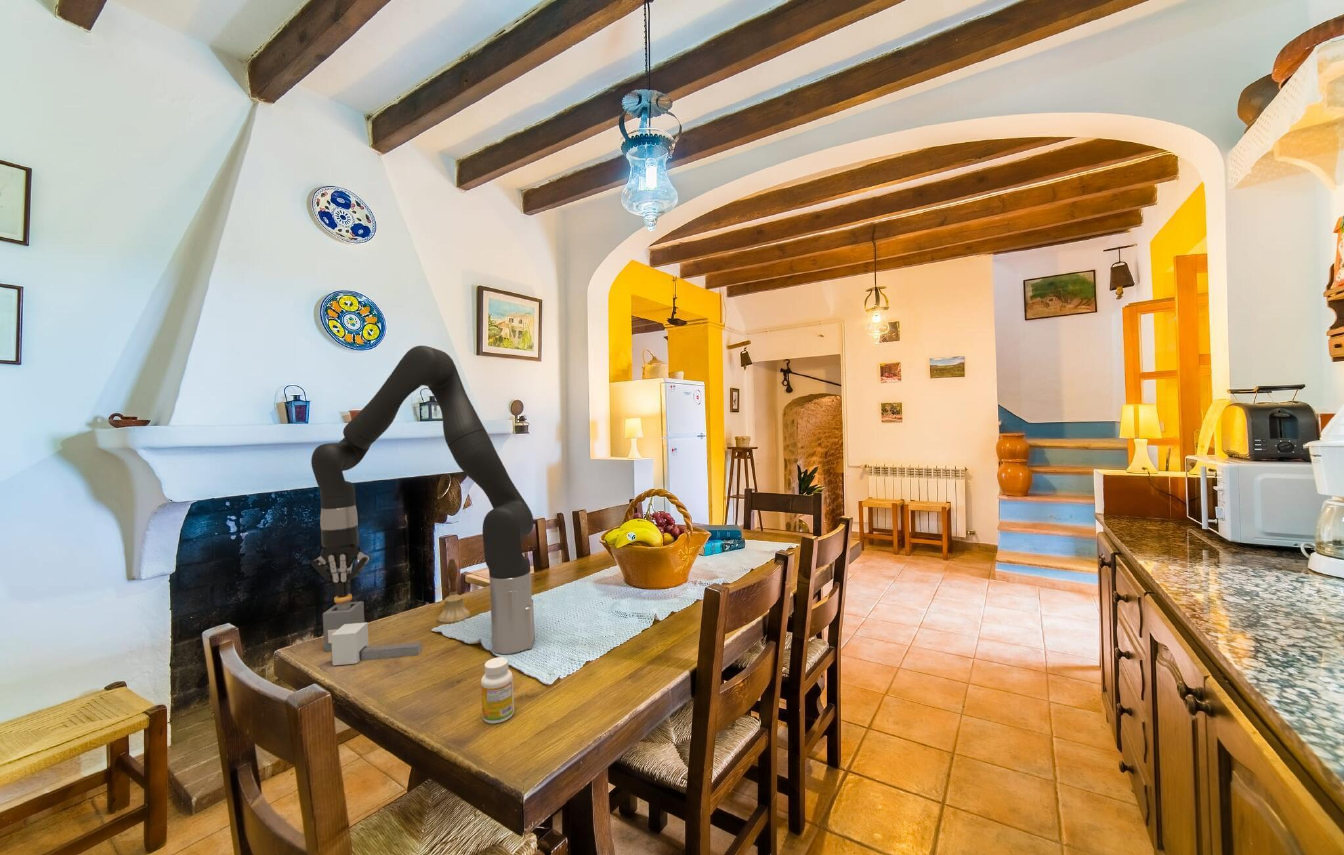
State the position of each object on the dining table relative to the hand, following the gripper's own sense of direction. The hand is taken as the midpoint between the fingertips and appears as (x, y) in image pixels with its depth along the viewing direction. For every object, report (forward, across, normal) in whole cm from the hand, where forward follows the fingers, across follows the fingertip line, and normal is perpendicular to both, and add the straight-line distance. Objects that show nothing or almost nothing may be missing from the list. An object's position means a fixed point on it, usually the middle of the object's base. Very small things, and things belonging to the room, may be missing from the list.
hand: (343, 596), depth 125 cm
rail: (+12, -11, +9) cm, 18 cm away
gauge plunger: (+5, 0, 0) cm, 5 cm away
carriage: (+12, -5, +9) cm, 16 cm away
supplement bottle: (+12, -43, +39) cm, 59 cm away
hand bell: (+12, -22, -12) cm, 28 cm away
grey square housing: (+12, 0, 0) cm, 12 cm away
